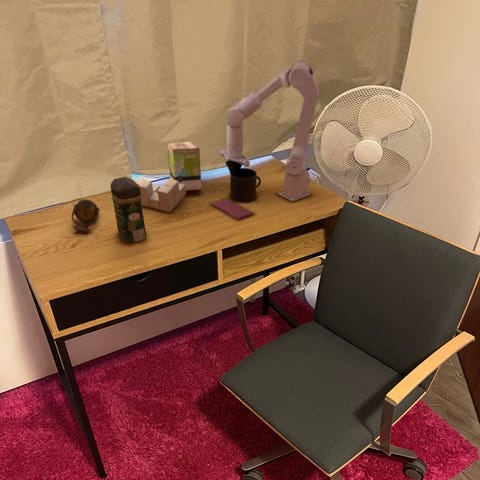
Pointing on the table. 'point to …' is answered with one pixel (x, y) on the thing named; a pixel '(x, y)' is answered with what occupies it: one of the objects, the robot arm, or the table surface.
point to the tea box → (185, 164)
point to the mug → (243, 184)
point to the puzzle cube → (162, 194)
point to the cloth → (232, 209)
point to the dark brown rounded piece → (85, 215)
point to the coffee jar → (128, 209)
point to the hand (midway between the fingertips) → (234, 180)
